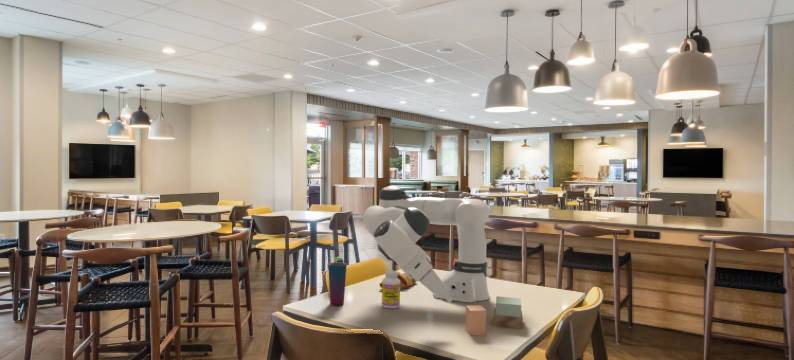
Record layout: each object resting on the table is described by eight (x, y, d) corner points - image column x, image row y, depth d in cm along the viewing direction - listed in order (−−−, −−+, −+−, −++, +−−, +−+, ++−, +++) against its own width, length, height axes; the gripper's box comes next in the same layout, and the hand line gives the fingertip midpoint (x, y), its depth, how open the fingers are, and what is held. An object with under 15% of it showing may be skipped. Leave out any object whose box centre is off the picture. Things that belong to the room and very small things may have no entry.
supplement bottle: (381, 308, 162) (382, 273, 162) (382, 303, 169) (382, 269, 168) (399, 309, 162) (400, 273, 162) (399, 303, 169) (400, 269, 168)
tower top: (495, 315, 146) (495, 302, 146) (496, 307, 154) (496, 296, 153) (521, 317, 144) (521, 305, 144) (520, 310, 152) (520, 298, 151)
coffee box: (333, 286, 192) (334, 256, 191) (340, 286, 192) (341, 256, 192) (336, 291, 184) (336, 260, 184) (343, 291, 185) (343, 259, 184)
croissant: (411, 289, 203) (406, 272, 206) (426, 282, 197) (420, 265, 199) (376, 296, 189) (370, 278, 191) (390, 290, 182) (385, 271, 185)
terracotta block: (469, 334, 138) (470, 310, 137) (465, 329, 143) (466, 305, 142) (485, 334, 138) (486, 310, 138) (480, 328, 143) (481, 305, 143)
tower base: (493, 327, 146) (494, 315, 145) (494, 318, 154) (494, 307, 154) (522, 330, 143) (522, 318, 143) (521, 321, 152) (521, 309, 152)
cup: (328, 301, 170) (328, 262, 170) (346, 301, 171) (346, 262, 170) (327, 306, 163) (327, 266, 163) (345, 306, 164) (346, 265, 164)
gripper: (405, 264, 147) (433, 293, 149) (414, 279, 127) (447, 313, 128) (418, 250, 148) (446, 280, 149) (430, 264, 127) (462, 297, 129)
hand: (447, 295), depth 138 cm, fingers open, 8 cm apart
